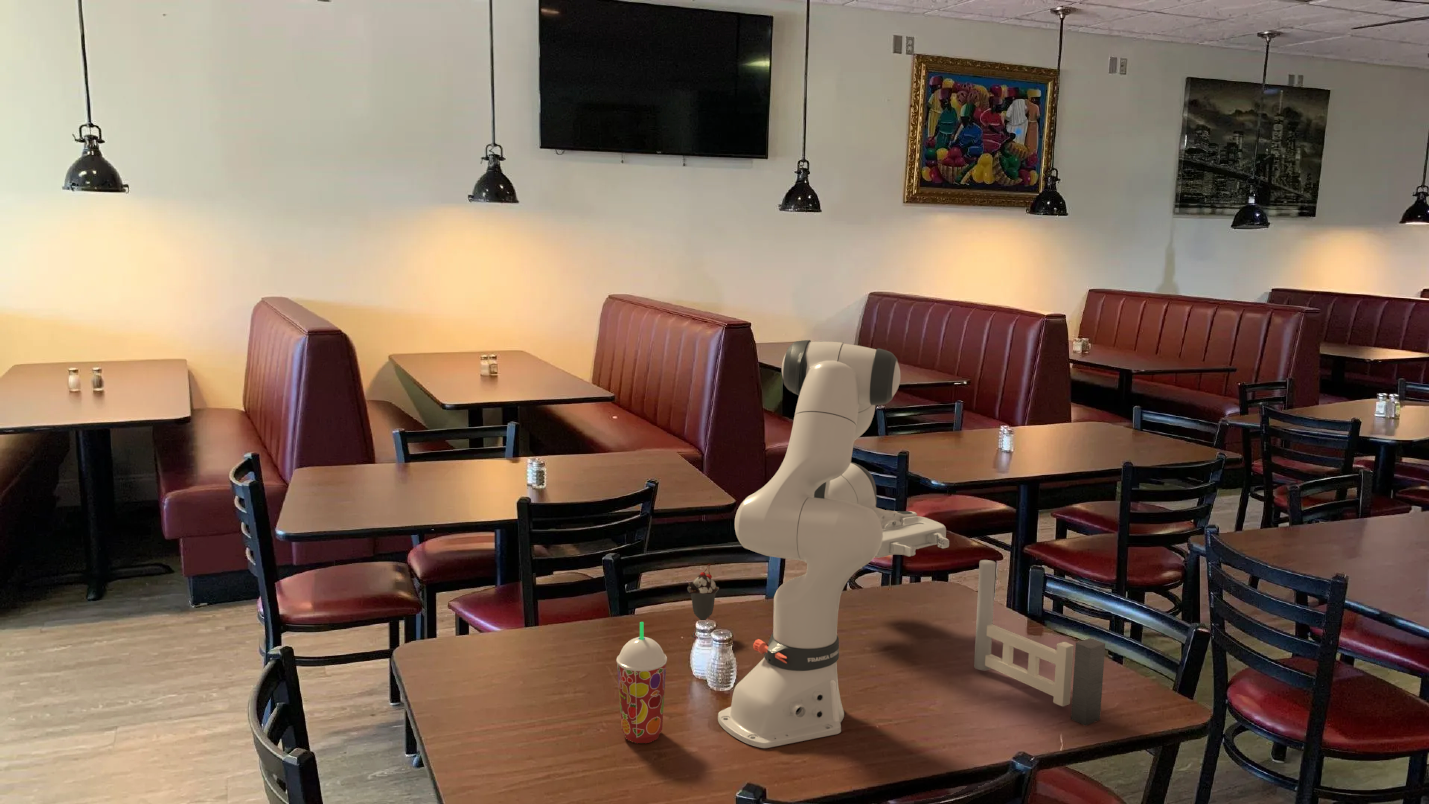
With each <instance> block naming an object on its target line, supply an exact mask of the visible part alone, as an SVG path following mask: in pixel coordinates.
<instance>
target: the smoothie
mask: <svg viewBox="0 0 1429 804" xmlns="http://www.w3.org/2000/svg"><path fill="white" fill-rule="evenodd" d="M644 624H645V623H644V621H640V622H639V636H638V637H634V638H631V639H630V640H628V642H626V643H625V644H624V645H623V647H622V648H621V650H620V651H619V652H620V653H619V655H617V656H616V660H615V661H616V668H617V669H616V671H617V683H618V696H619V697H618V699H619V712H620V722H621V724H620V725H621V731H622V733H623V734H624V737H625V736H626V737H625V739H626V738H627V739H628V740H631V741H633V742H636V743H635V744H638V743H645V744H649V743H653V742H654V740H655V741H656V740H658V738H659V737H660V733H662V730H663V722H664V706H665V693H666V692H665V689H666V677H667V661H668V657H667V655H666V653H665V652H664V650H663V648H662V647H661V645H660V644H659V643H658V642H657V641H656V640H654V639H652V638H651V637H648V636H647V637H646V636H644V635H645V634H644V633H645V632H644V631H645V629H644V627H645V626H644ZM627 739H626V740H627ZM628 740H627V741H628ZM652 741H653V742H652ZM633 742H632V743H633Z"/></svg>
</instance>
